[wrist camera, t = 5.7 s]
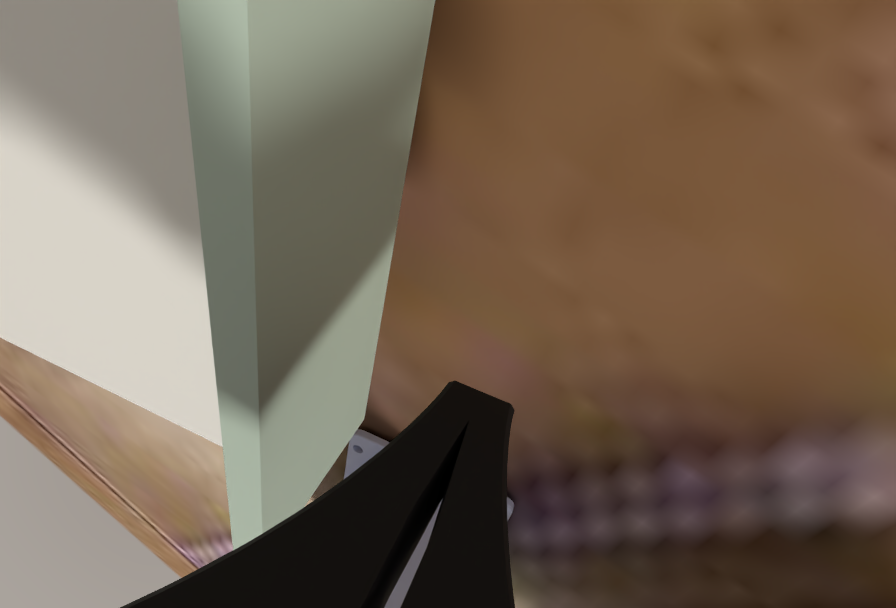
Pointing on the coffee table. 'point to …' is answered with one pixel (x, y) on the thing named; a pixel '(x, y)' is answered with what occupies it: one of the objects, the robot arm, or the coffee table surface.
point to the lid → (211, 214)
